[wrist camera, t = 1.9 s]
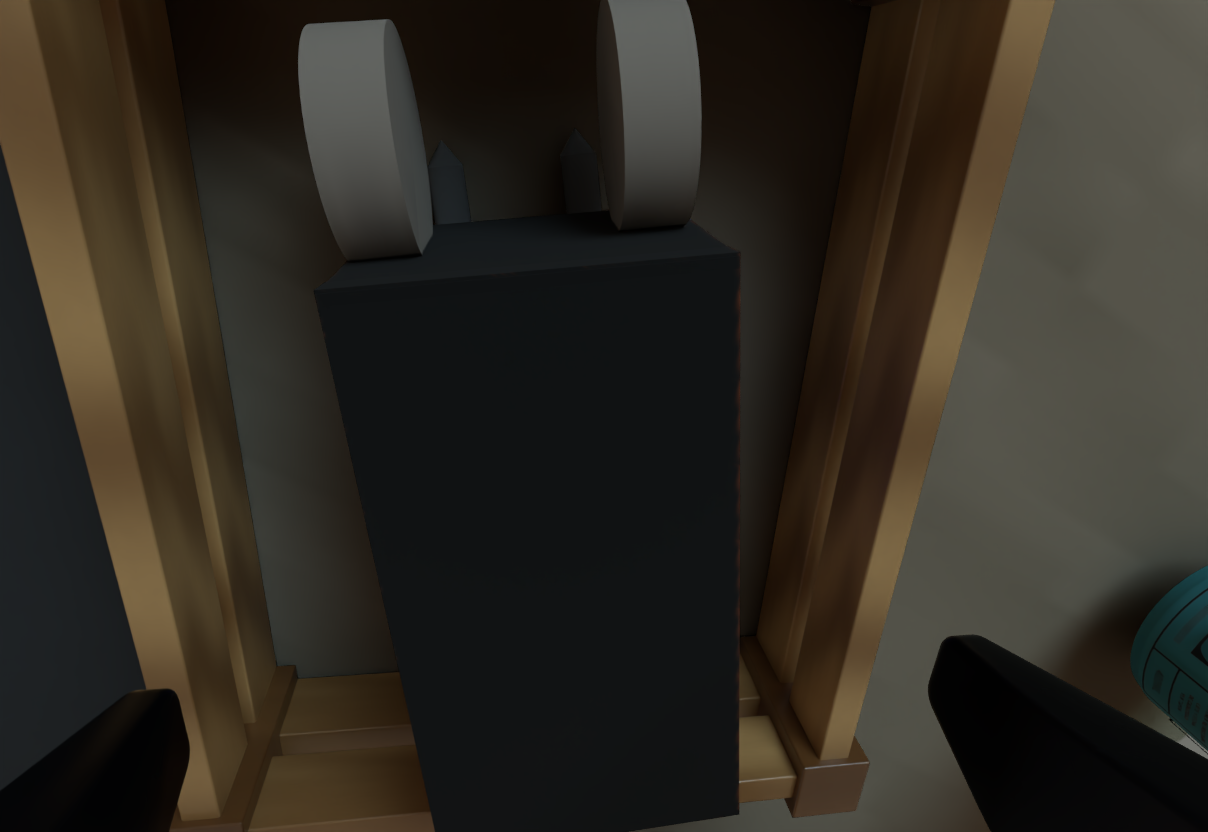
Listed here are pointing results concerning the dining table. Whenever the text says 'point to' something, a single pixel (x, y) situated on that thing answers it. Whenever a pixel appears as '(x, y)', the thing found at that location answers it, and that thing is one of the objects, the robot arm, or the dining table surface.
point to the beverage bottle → (1177, 655)
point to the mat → (48, 537)
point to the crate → (212, 452)
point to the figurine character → (543, 440)
